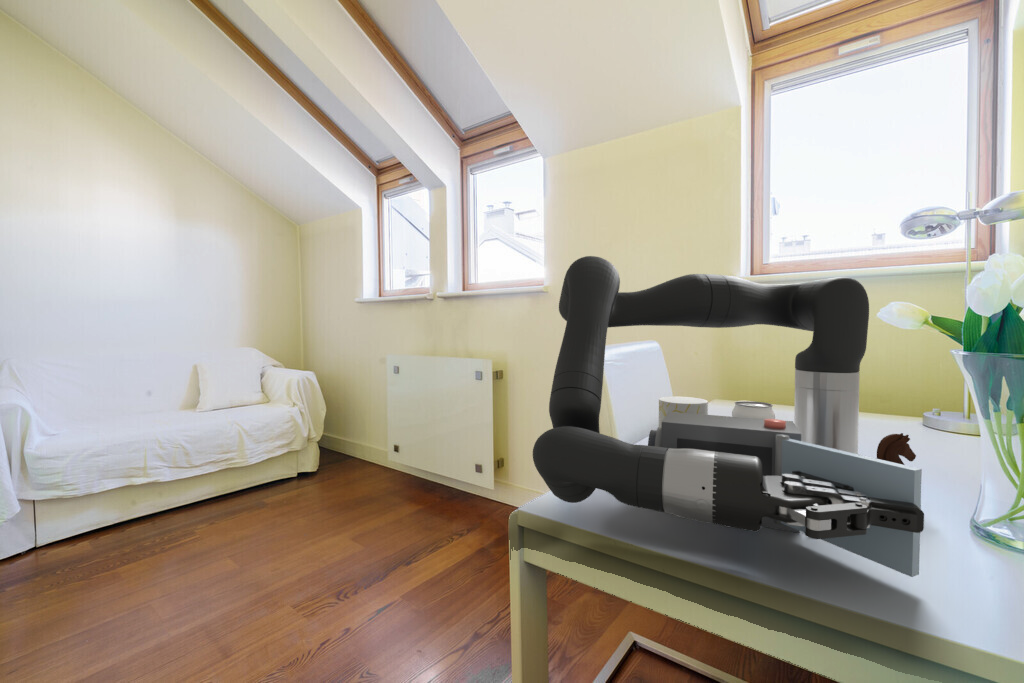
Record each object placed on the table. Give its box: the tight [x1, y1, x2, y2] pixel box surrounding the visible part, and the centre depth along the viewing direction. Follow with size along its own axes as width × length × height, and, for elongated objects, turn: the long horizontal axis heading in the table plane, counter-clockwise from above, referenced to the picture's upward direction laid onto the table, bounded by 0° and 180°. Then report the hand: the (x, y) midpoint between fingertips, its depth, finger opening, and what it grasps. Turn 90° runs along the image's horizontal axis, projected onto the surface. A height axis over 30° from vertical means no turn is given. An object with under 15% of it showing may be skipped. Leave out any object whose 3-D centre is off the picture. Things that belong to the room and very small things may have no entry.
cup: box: [658, 395, 709, 427], centre depth 78 cm, size 8×8×12 cm
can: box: [731, 400, 776, 419], centre depth 74 cm, size 6×6×12 cm
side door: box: [774, 434, 922, 578], centre depth 47 cm, size 2×14×11 cm, turn 24°
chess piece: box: [876, 432, 917, 465], centre depth 61 cm, size 5×5×10 cm
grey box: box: [647, 412, 801, 534], centre depth 61 cm, size 8×18×13 cm, turn 64°
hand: (920, 518), depth 40 cm, fingers closed
